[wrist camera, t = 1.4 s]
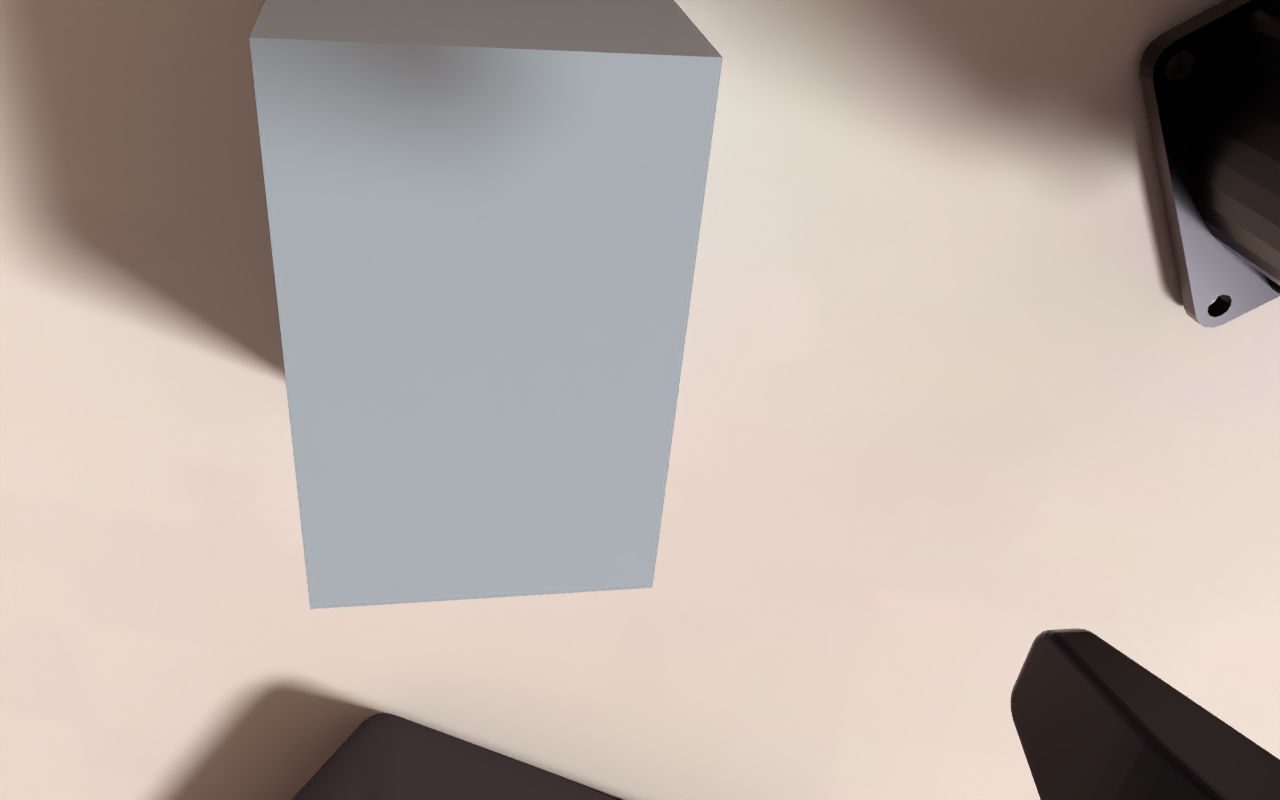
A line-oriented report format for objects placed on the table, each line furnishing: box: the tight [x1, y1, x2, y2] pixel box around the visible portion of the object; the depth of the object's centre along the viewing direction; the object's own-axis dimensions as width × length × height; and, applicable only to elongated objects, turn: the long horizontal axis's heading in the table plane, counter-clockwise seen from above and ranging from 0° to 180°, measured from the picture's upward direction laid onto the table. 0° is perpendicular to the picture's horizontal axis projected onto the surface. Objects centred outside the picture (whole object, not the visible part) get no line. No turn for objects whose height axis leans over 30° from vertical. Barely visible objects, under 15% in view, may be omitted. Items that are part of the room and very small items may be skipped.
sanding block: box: [249, 0, 722, 609], centre depth 16 cm, size 8×5×6 cm, turn 175°
